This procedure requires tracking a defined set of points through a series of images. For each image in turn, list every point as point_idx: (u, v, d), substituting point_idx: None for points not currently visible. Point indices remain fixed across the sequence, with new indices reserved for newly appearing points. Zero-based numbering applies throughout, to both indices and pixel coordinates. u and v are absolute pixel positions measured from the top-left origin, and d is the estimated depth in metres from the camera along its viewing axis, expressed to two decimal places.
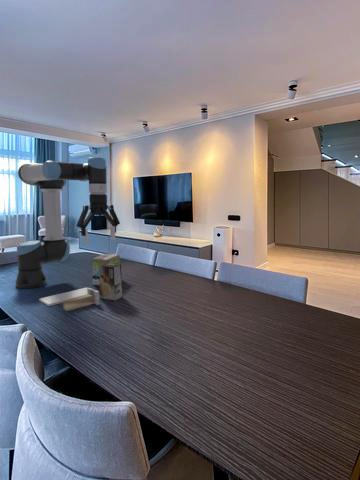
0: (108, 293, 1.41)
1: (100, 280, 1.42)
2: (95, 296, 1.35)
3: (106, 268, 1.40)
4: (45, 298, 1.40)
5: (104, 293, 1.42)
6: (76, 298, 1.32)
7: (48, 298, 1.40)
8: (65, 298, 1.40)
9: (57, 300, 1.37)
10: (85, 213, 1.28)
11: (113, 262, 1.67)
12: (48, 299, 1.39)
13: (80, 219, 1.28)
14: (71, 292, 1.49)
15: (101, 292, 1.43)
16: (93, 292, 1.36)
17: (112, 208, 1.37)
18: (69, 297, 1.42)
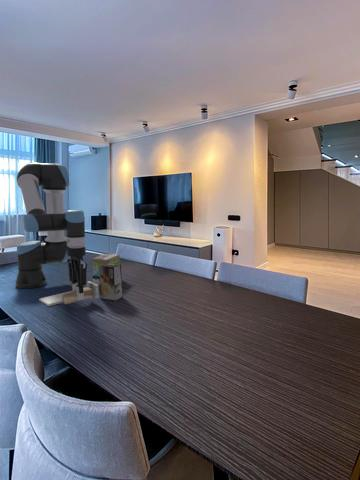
0: (108, 293, 1.41)
1: (100, 280, 1.42)
2: (94, 290, 1.35)
3: (106, 268, 1.40)
4: (45, 298, 1.40)
5: (104, 293, 1.42)
6: (76, 291, 1.32)
7: (48, 298, 1.40)
8: None
9: (57, 300, 1.37)
10: (68, 267, 1.34)
11: (113, 262, 1.67)
12: (48, 299, 1.39)
13: None
14: None
15: (101, 292, 1.43)
16: (93, 285, 1.36)
17: (80, 267, 1.26)
18: None
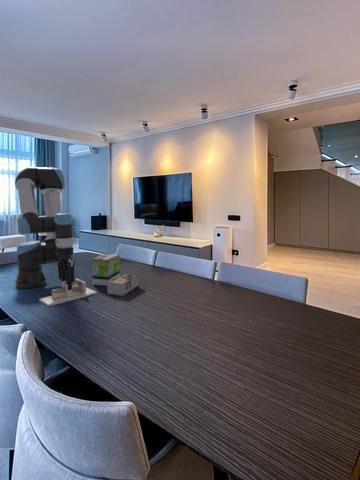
0: (119, 281, 1.49)
1: (118, 277, 1.56)
2: (82, 286, 1.46)
3: (131, 275, 1.61)
4: (45, 298, 1.40)
5: (115, 281, 1.50)
6: (64, 288, 1.43)
7: (48, 298, 1.40)
8: (65, 298, 1.40)
9: (57, 300, 1.37)
10: (58, 266, 1.45)
11: (113, 262, 1.67)
12: (48, 299, 1.39)
13: None
14: None
15: (112, 280, 1.51)
16: (80, 282, 1.47)
17: (68, 265, 1.37)
18: (69, 297, 1.42)
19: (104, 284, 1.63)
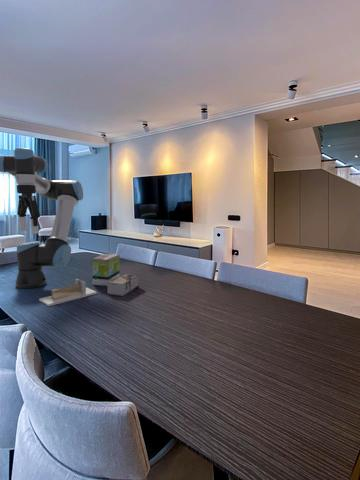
0: (119, 281, 1.49)
1: (118, 277, 1.56)
2: (82, 286, 1.46)
3: (131, 275, 1.61)
4: (45, 298, 1.40)
5: (115, 281, 1.50)
6: (64, 288, 1.43)
7: (48, 298, 1.40)
8: (65, 298, 1.40)
9: (57, 300, 1.37)
10: None
11: (113, 262, 1.67)
12: (48, 299, 1.39)
13: None
14: None
15: (112, 280, 1.51)
16: (80, 282, 1.47)
17: (29, 199, 1.29)
18: (69, 297, 1.42)
19: (104, 284, 1.63)
